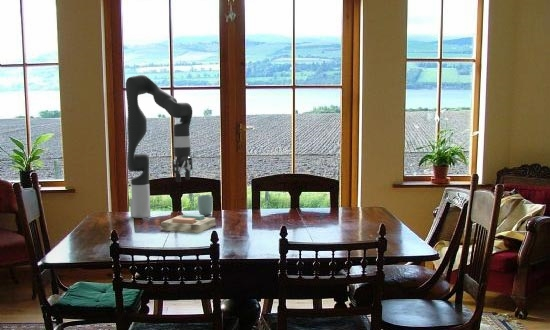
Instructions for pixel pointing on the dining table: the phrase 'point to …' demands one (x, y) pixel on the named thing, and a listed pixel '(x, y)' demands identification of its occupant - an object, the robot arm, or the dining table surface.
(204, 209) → the cup
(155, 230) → the dining table surface
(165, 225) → the slot rack
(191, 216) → the batten teal
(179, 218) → the block
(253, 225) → the dining table surface
